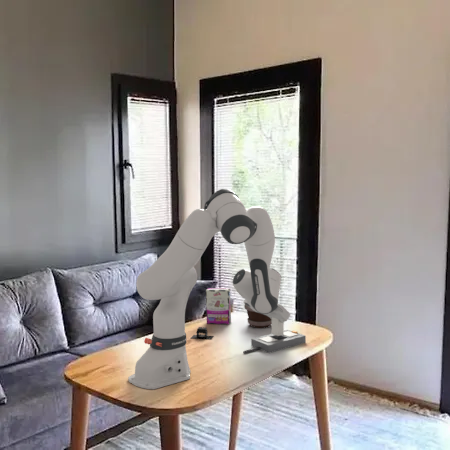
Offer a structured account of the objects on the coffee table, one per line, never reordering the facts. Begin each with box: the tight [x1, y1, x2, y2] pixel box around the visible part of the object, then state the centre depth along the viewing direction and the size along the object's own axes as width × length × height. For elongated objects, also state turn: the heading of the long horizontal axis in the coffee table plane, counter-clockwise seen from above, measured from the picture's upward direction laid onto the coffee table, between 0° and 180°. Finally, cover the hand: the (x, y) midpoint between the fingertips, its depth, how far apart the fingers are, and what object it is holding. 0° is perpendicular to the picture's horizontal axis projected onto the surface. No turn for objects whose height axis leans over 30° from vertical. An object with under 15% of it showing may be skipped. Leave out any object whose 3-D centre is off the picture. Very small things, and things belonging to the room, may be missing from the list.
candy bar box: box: [205, 287, 232, 325], centre depth 250 cm, size 11×5×16 cm, turn 81°
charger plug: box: [271, 317, 285, 336], centre depth 217 cm, size 3×4×8 cm
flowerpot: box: [244, 304, 272, 329], centre depth 244 cm, size 14×15×20 cm
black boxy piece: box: [190, 326, 215, 341], centre depth 228 cm, size 12×7×5 cm, turn 78°
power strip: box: [242, 329, 307, 354], centre depth 215 cm, size 28×11×4 cm, turn 126°
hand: (278, 319), depth 217 cm, fingers closed on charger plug, 4 cm apart
